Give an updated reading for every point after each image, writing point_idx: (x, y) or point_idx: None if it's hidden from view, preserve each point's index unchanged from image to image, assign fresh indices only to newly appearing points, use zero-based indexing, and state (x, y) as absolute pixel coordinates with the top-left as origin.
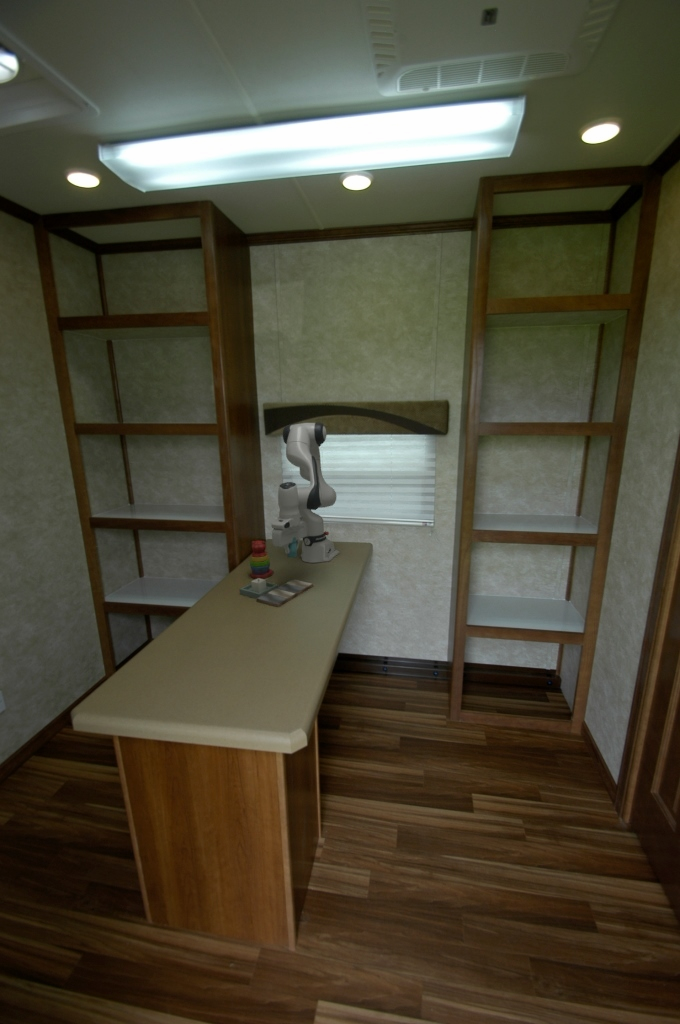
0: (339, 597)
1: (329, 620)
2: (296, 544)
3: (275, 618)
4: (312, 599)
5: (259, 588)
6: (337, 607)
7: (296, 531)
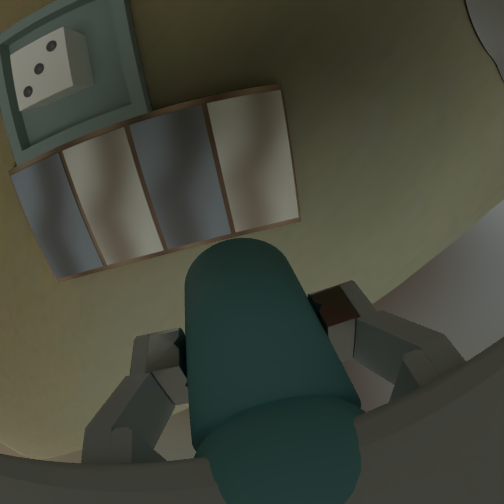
0: None
1: None
2: (370, 356)
3: (36, 324)
4: None
5: (38, 106)
6: None
7: None
